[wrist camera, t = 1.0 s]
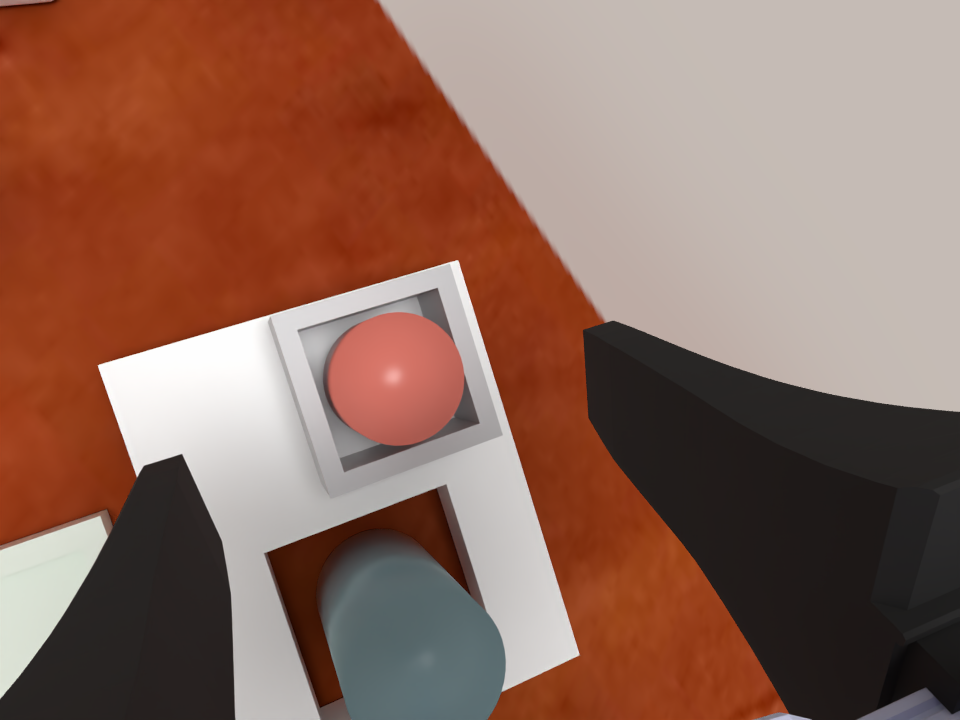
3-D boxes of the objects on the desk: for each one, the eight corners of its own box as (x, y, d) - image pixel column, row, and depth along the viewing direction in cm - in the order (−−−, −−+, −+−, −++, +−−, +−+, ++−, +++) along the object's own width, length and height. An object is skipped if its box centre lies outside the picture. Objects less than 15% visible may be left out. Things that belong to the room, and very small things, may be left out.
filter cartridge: (451, 621, 29) (525, 713, 21) (338, 670, 27) (373, 787, 20) (415, 510, 28) (478, 563, 21) (299, 555, 27) (320, 630, 19)
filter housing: (558, 636, 30) (617, 688, 25) (253, 777, 26) (254, 867, 22) (443, 267, 29) (483, 247, 24) (109, 365, 25) (76, 364, 20)
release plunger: (455, 414, 25) (480, 420, 22) (344, 453, 24) (356, 464, 21) (420, 303, 25) (441, 296, 22) (306, 338, 24) (314, 334, 21)
